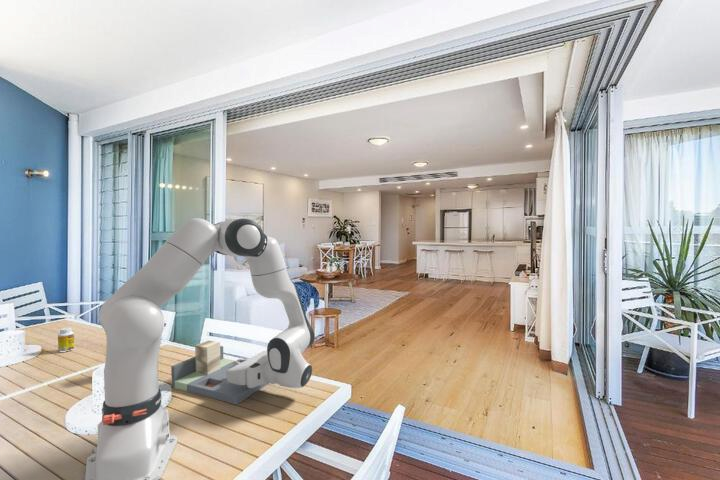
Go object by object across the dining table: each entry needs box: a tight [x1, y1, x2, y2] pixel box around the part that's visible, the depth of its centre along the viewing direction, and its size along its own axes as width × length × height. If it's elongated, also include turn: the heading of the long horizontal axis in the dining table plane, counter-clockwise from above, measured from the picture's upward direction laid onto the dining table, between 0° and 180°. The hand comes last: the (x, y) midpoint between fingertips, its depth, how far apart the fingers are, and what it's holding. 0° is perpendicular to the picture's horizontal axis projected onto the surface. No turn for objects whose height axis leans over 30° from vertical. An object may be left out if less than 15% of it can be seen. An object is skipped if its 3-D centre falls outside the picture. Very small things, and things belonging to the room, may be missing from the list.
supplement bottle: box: [57, 326, 75, 352], centre depth 154 cm, size 6×6×10 cm
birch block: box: [194, 339, 221, 375], centre depth 125 cm, size 6×6×10 cm
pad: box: [174, 358, 234, 392], centre depth 126 cm, size 6×22×2 cm, turn 156°
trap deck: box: [170, 345, 270, 406], centre depth 121 cm, size 30×22×8 cm
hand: (236, 362), depth 120 cm, fingers closed
